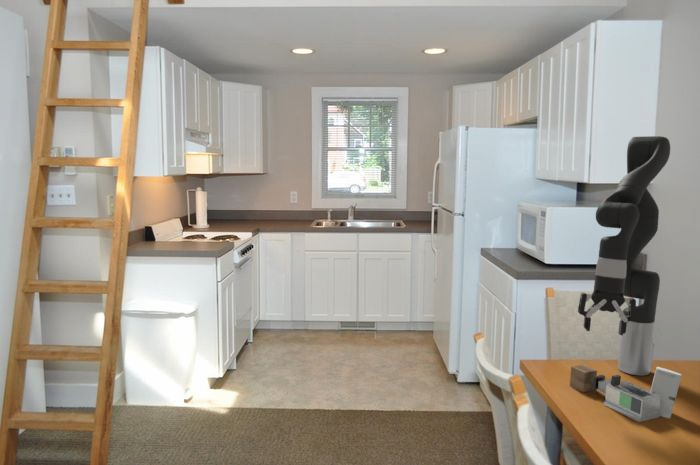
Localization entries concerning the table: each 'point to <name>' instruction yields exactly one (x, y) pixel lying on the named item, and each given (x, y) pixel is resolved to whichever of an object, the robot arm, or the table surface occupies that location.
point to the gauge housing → (633, 401)
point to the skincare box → (666, 389)
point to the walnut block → (582, 378)
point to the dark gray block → (615, 380)
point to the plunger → (602, 383)
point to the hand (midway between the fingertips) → (603, 332)
